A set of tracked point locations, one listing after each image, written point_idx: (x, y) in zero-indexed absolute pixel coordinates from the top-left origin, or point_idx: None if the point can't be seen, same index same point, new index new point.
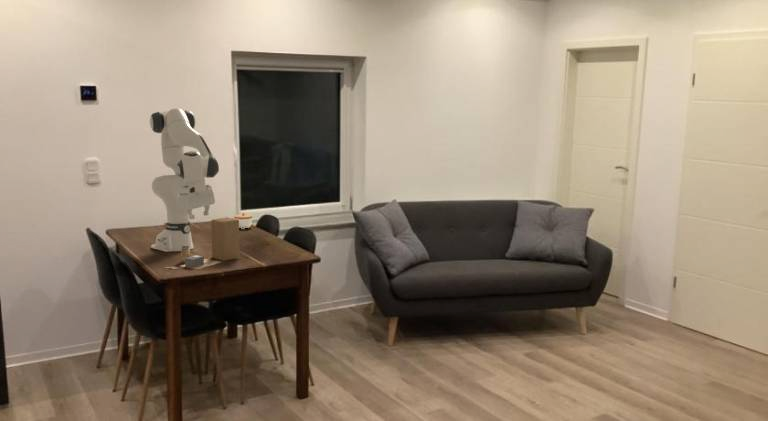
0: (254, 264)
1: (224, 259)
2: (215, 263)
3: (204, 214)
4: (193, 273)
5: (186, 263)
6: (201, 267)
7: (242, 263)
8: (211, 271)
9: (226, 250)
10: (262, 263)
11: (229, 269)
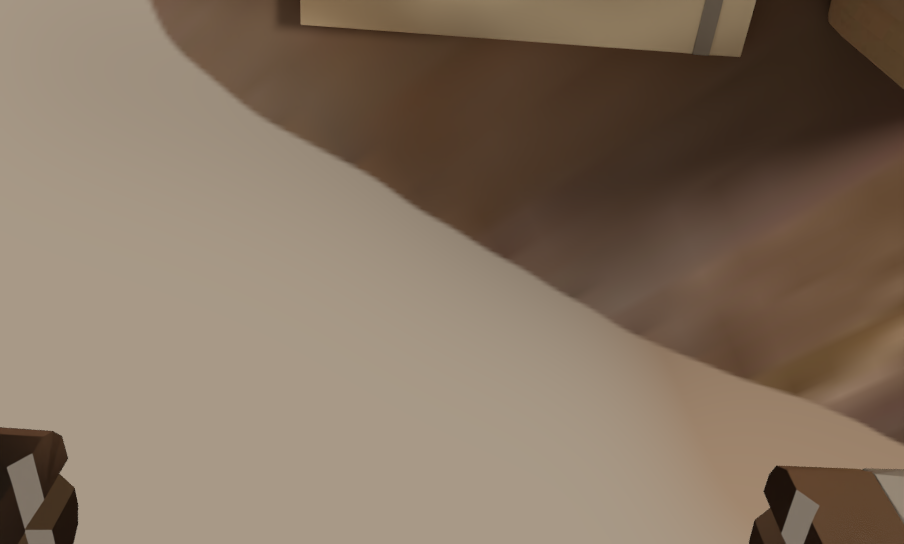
0: (814, 336)
1: (840, 33)
2: (644, 30)
3: (778, 516)
4: (202, 26)
5: None
6: (391, 4)
7: (826, 223)
8: (384, 147)
9: None
10: (871, 372)
11: (542, 252)
